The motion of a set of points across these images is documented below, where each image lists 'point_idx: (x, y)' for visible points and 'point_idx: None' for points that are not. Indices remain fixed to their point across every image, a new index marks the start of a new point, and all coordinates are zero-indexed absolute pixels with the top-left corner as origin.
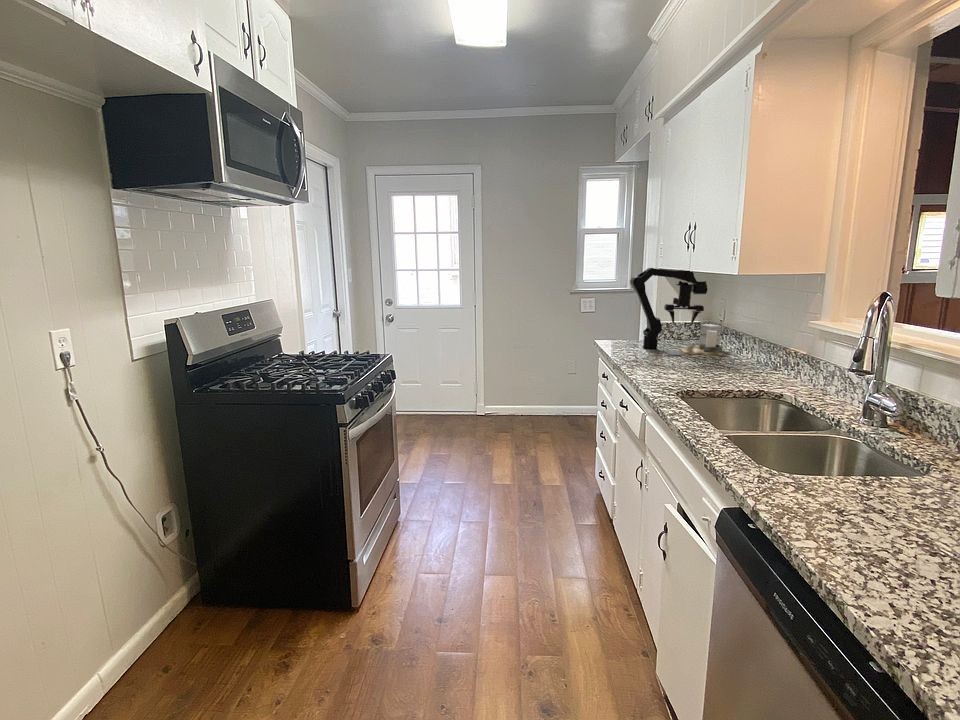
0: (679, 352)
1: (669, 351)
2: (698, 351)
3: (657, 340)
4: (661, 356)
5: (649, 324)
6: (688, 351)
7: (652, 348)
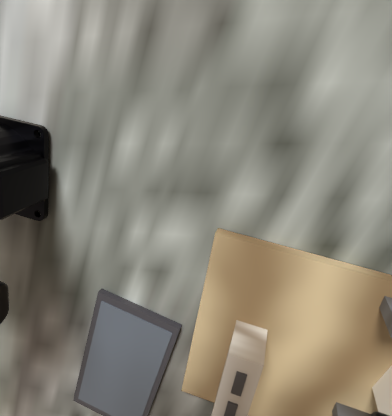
0: (155, 369)
1: (102, 332)
2: (299, 389)
3: (5, 217)
4: (40, 408)
5: None
6: (221, 374)
7: (19, 212)
